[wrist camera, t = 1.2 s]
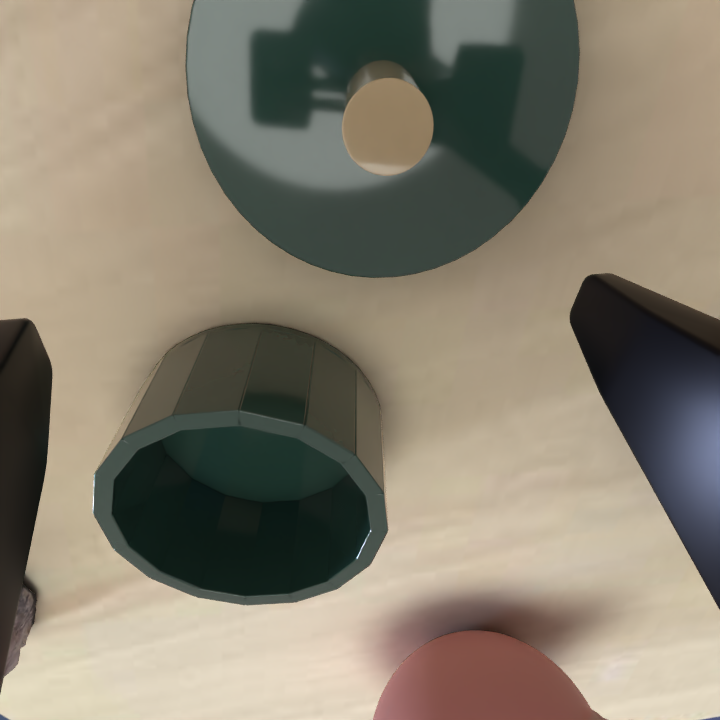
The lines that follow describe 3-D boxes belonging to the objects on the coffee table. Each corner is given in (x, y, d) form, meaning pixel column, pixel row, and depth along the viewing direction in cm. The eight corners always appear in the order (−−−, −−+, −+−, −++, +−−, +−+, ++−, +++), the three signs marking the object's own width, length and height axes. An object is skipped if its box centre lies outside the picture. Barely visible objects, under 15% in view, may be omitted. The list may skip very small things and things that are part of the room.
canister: (414, 359, 27) (429, 452, 21) (344, 520, 33) (341, 621, 28) (154, 293, 24) (97, 378, 19) (135, 479, 31) (89, 580, 26)
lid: (647, -58, 17) (753, -76, 13) (475, 300, 25) (502, 372, 20) (225, -237, 15) (166, -339, 10) (174, 216, 22) (126, 276, 18)
